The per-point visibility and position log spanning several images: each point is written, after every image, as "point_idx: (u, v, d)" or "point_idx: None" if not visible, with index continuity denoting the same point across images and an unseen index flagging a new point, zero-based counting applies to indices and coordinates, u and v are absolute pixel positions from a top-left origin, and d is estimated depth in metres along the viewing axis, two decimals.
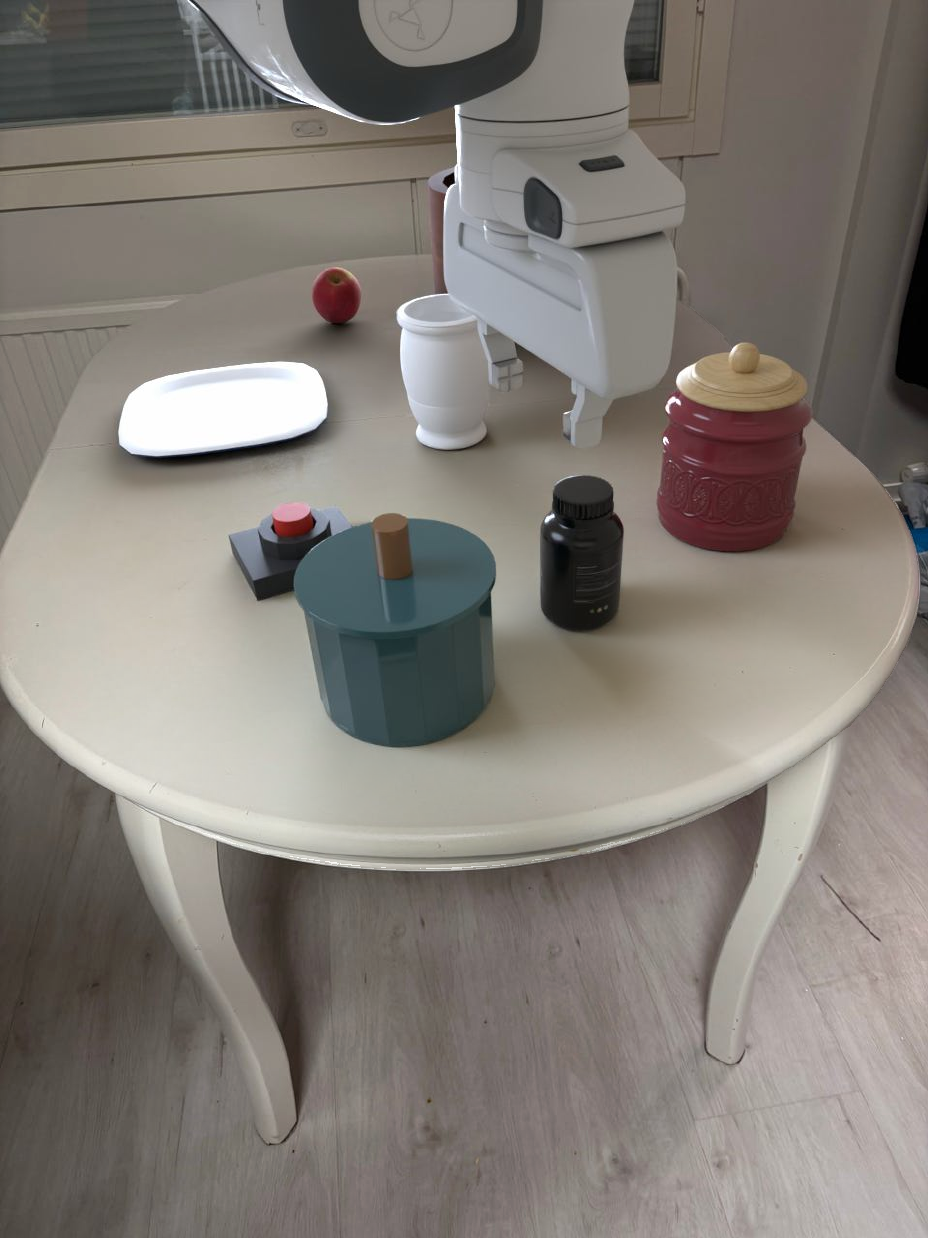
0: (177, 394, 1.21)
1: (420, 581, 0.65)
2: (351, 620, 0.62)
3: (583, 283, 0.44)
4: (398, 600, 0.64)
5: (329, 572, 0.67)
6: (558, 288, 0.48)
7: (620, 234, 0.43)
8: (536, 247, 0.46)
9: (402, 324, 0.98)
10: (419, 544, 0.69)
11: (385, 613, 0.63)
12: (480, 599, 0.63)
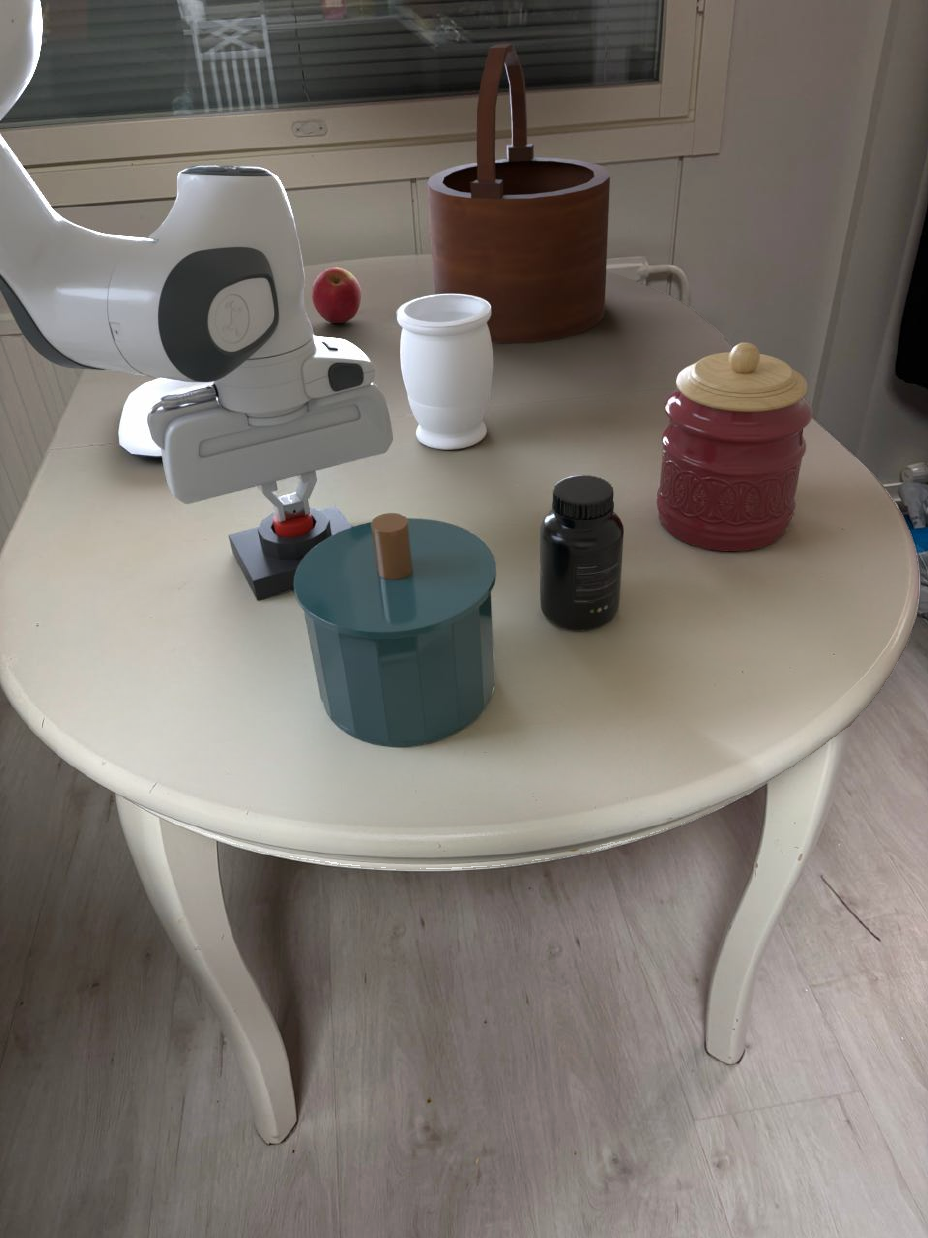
0: None
1: (420, 581, 0.65)
2: (351, 620, 0.62)
3: (374, 398, 0.80)
4: (398, 600, 0.64)
5: (329, 572, 0.67)
6: (330, 420, 0.81)
7: None
8: (332, 401, 0.78)
9: (402, 324, 0.98)
10: (419, 544, 0.69)
11: (385, 613, 0.63)
12: (480, 599, 0.63)
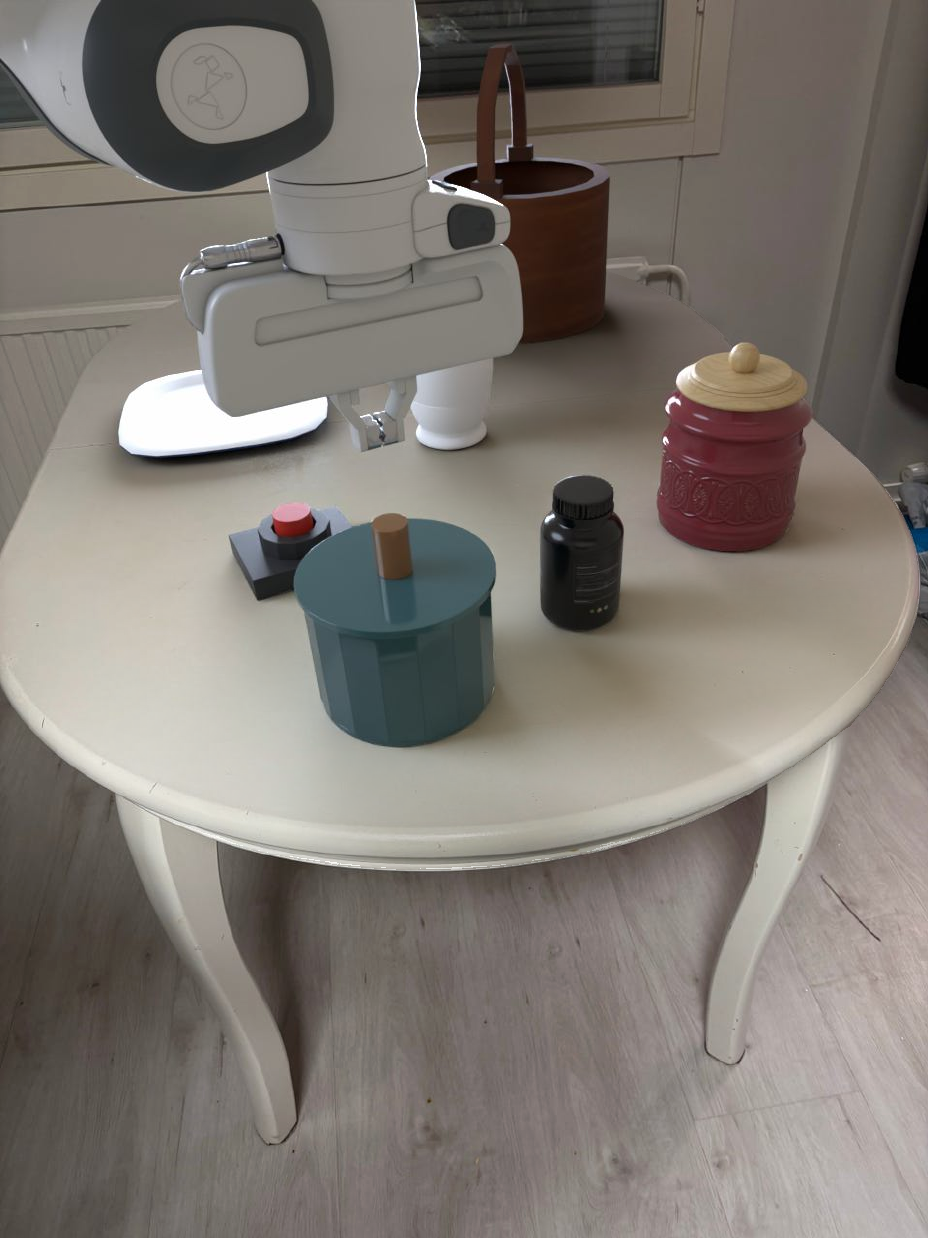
0: (177, 394, 1.21)
1: (420, 581, 0.65)
2: (351, 620, 0.62)
3: (505, 267, 0.56)
4: (398, 600, 0.64)
5: (329, 572, 0.67)
6: (441, 299, 0.56)
7: None
8: (448, 266, 0.54)
9: None
10: (419, 544, 0.69)
11: (385, 613, 0.63)
12: (480, 599, 0.63)
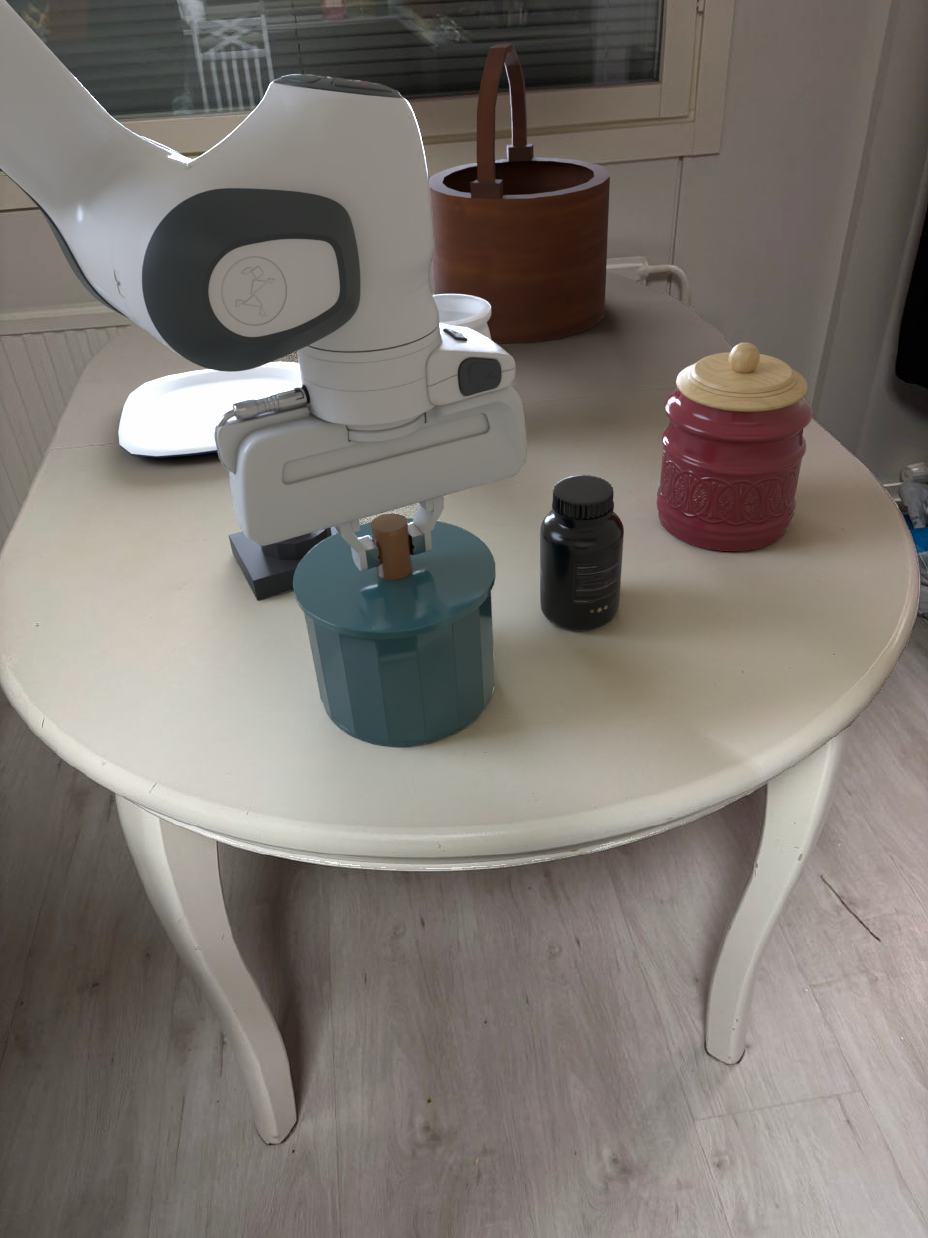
0: (177, 394, 1.21)
1: (419, 581, 0.65)
2: (350, 620, 0.62)
3: (510, 405, 0.61)
4: (397, 600, 0.64)
5: (328, 572, 0.67)
6: (451, 434, 0.61)
7: None
8: (458, 409, 0.59)
9: None
10: None
11: (384, 613, 0.63)
12: (479, 599, 0.63)
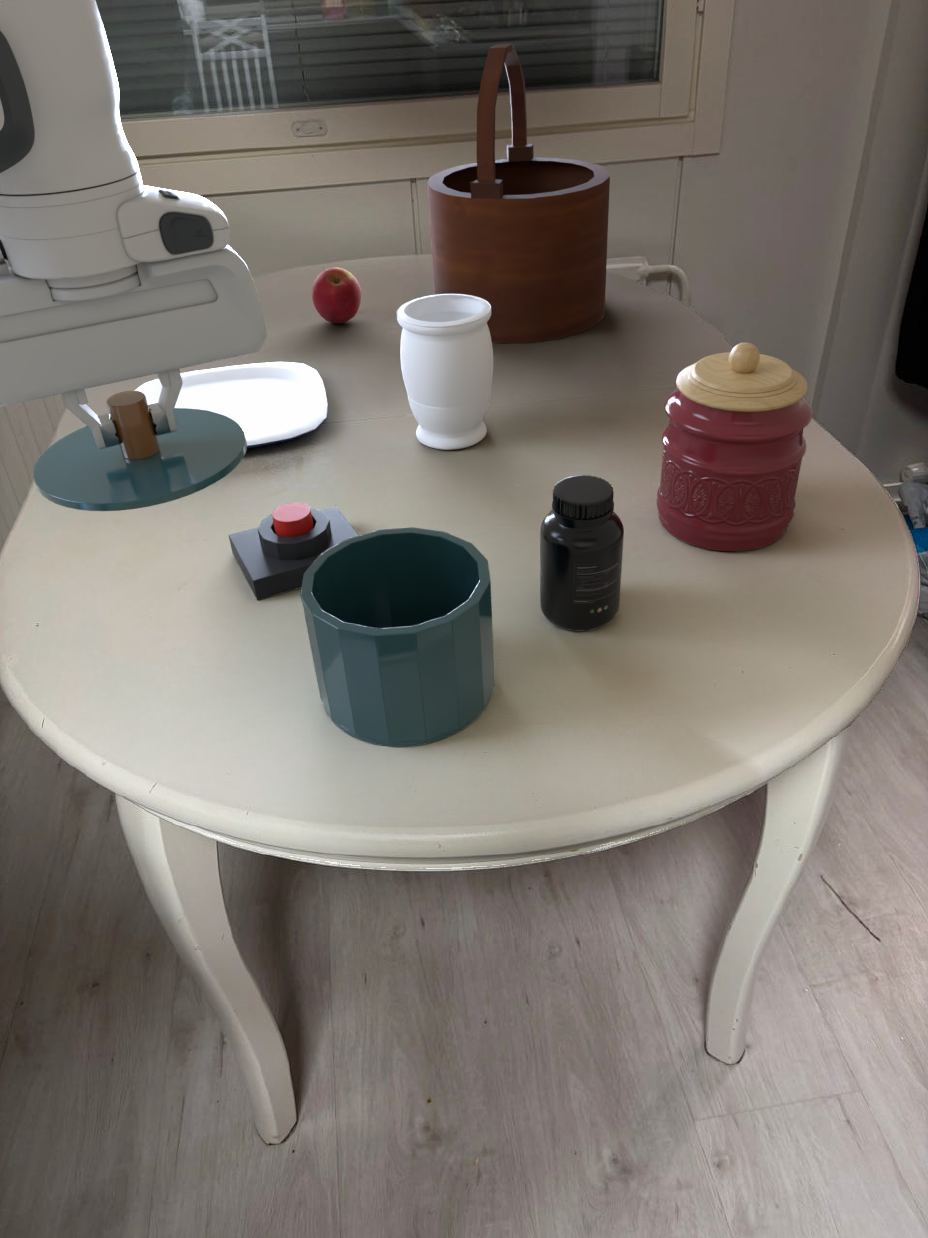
0: None
1: (162, 460, 0.64)
2: (77, 494, 0.61)
3: (234, 271, 0.59)
4: (132, 476, 0.62)
5: (75, 454, 0.65)
6: (174, 301, 0.60)
7: None
8: (170, 270, 0.57)
9: (402, 324, 0.98)
10: None
11: (114, 487, 0.61)
12: (214, 475, 0.62)
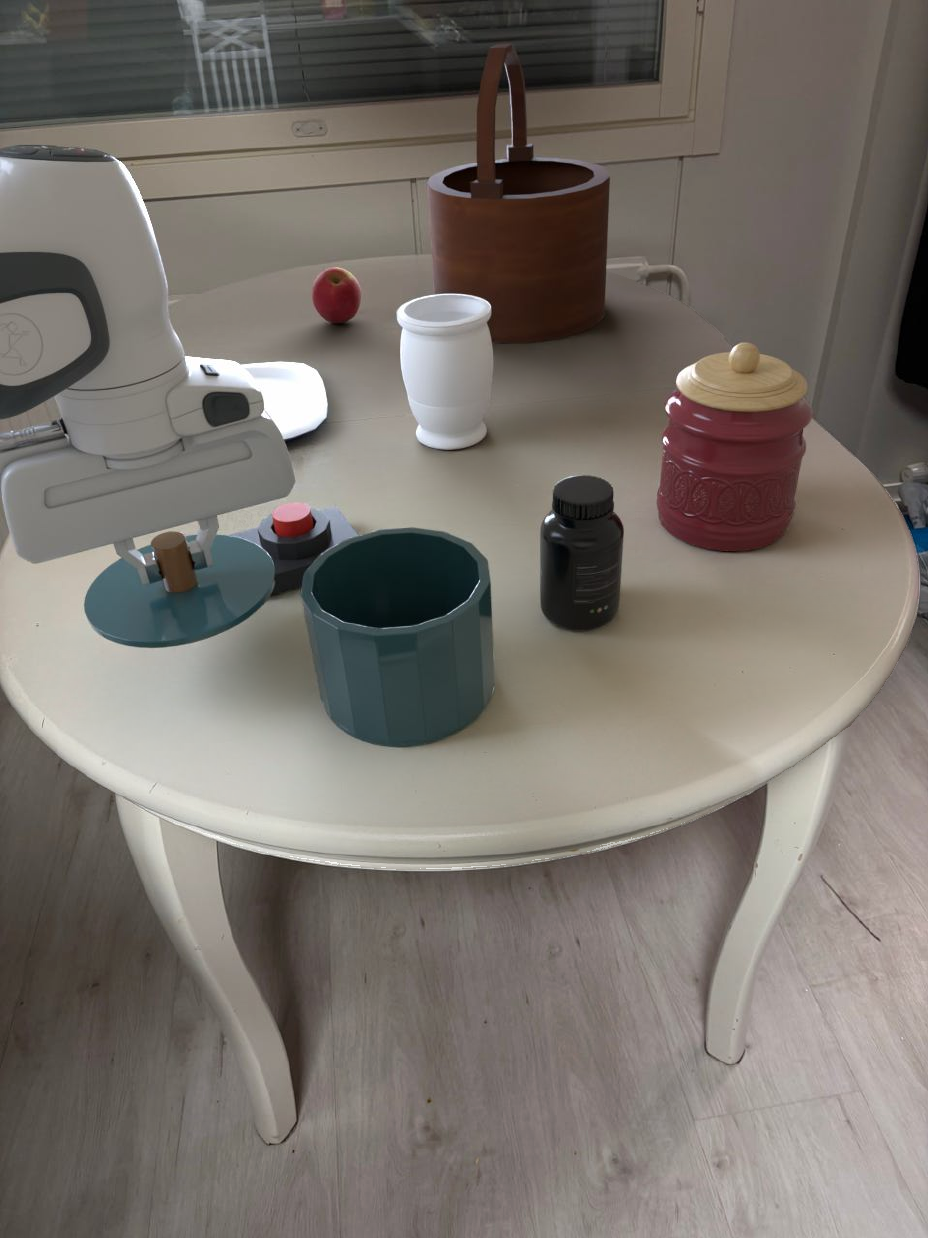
0: None
1: (200, 594, 0.71)
2: (126, 631, 0.68)
3: (267, 434, 0.66)
4: (174, 612, 0.69)
5: (120, 586, 0.72)
6: (213, 460, 0.66)
7: None
8: (211, 438, 0.64)
9: (402, 324, 0.98)
10: None
11: (158, 624, 0.68)
12: (248, 611, 0.69)
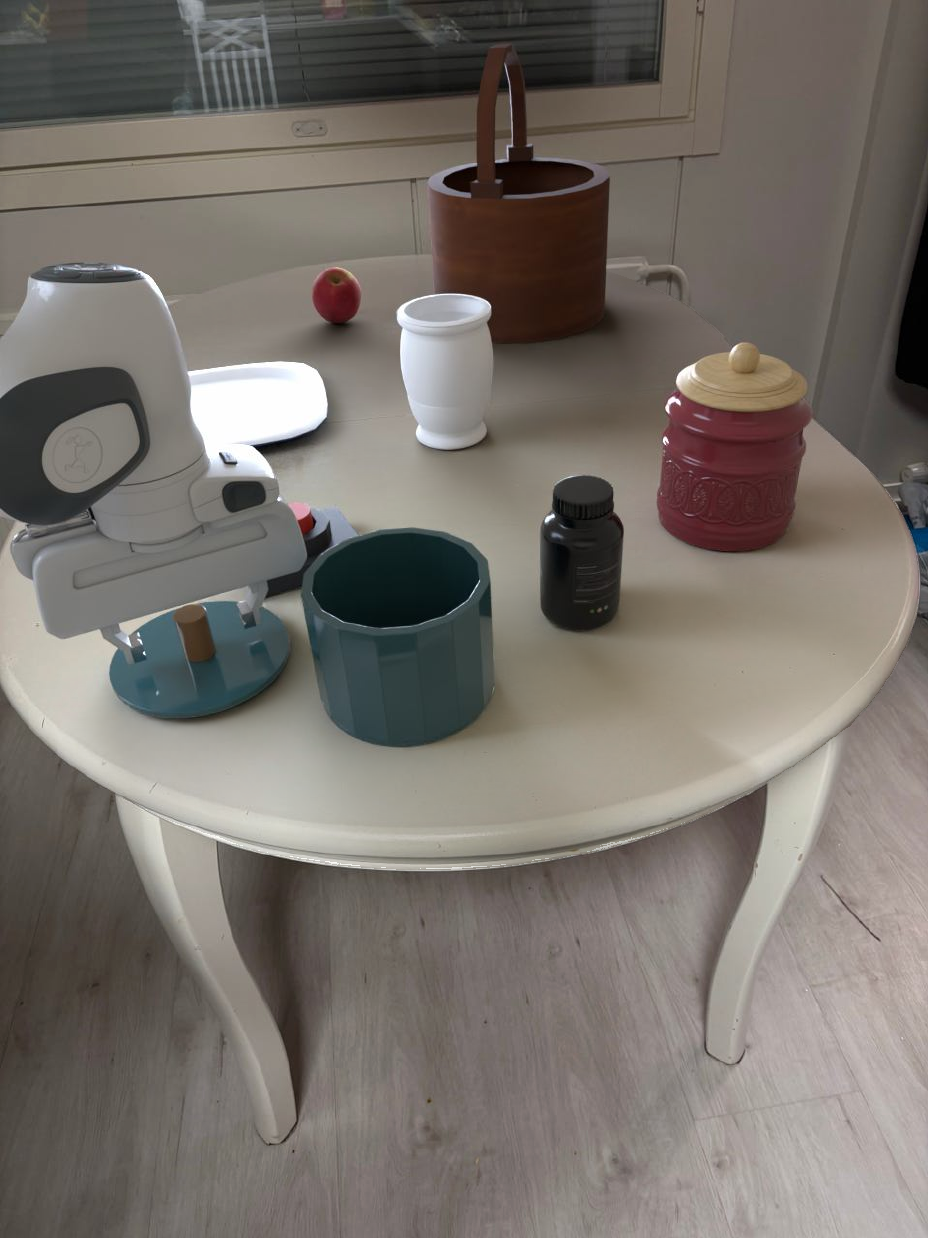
0: None
1: (219, 664, 0.75)
2: (150, 701, 0.72)
3: (281, 516, 0.70)
4: (195, 682, 0.73)
5: None
6: (231, 540, 0.70)
7: None
8: (229, 522, 0.68)
9: (402, 324, 0.98)
10: (228, 627, 0.79)
11: (180, 695, 0.72)
12: (265, 682, 0.73)
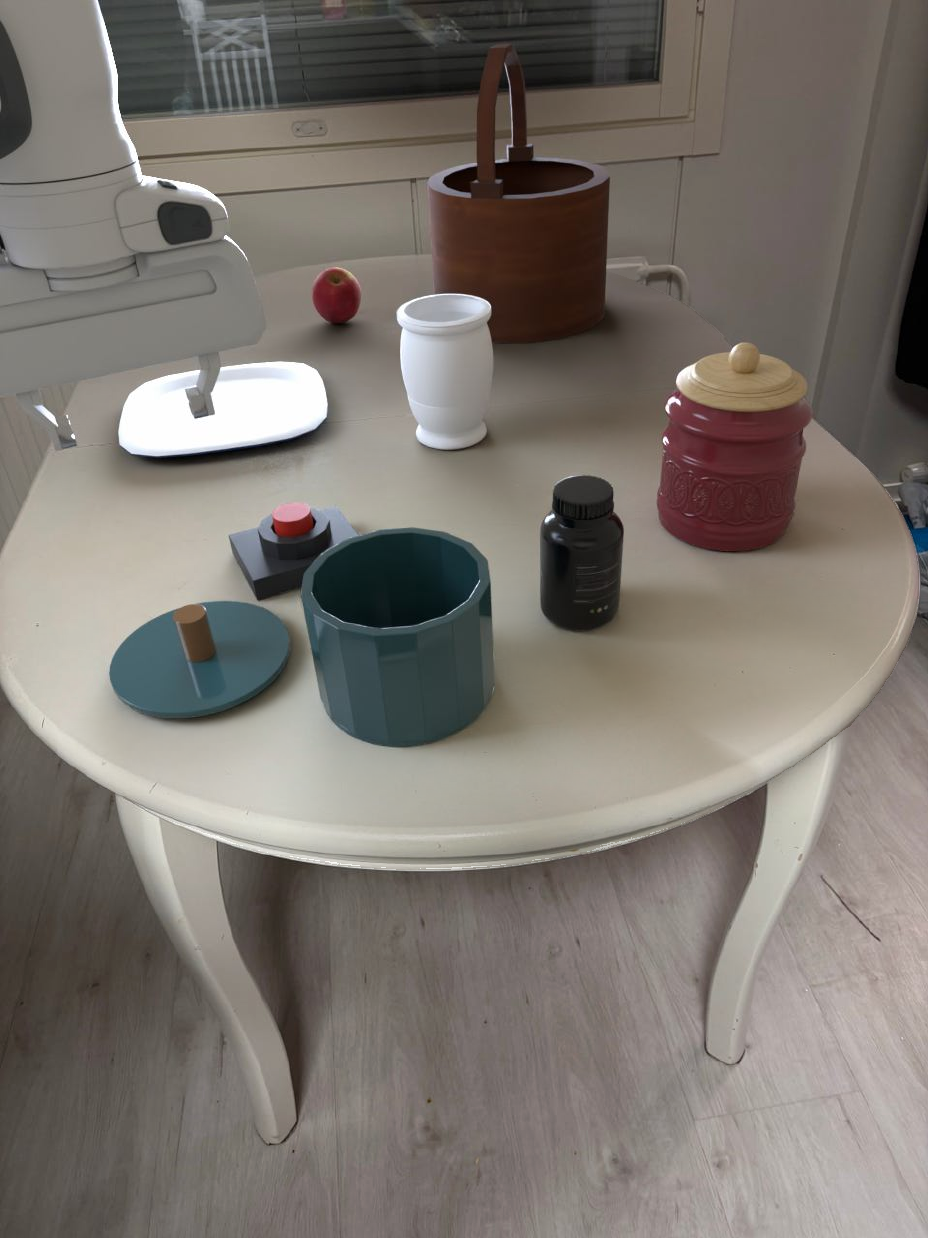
0: (177, 394, 1.21)
1: (219, 664, 0.75)
2: (150, 701, 0.72)
3: (232, 261, 0.59)
4: (195, 682, 0.73)
5: (143, 654, 0.76)
6: (173, 291, 0.59)
7: None
8: (169, 260, 0.57)
9: (402, 324, 0.98)
10: (228, 627, 0.79)
11: (180, 695, 0.72)
12: (265, 682, 0.73)
